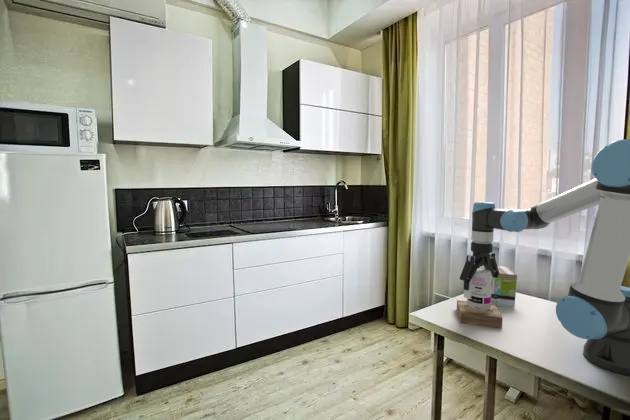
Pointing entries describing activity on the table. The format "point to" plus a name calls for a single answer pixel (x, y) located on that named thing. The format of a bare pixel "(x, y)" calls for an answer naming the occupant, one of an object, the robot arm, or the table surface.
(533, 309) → the table surface
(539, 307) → the table surface
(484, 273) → the supplement can
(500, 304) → the tea box
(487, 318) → the walnut base
